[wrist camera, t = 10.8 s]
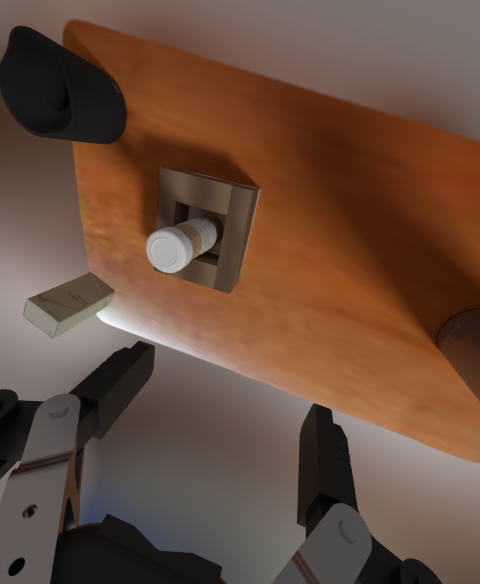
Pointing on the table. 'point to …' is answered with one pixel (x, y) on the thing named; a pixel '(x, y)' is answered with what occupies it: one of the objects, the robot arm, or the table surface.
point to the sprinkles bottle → (183, 242)
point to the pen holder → (59, 91)
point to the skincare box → (67, 304)
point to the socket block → (209, 201)
